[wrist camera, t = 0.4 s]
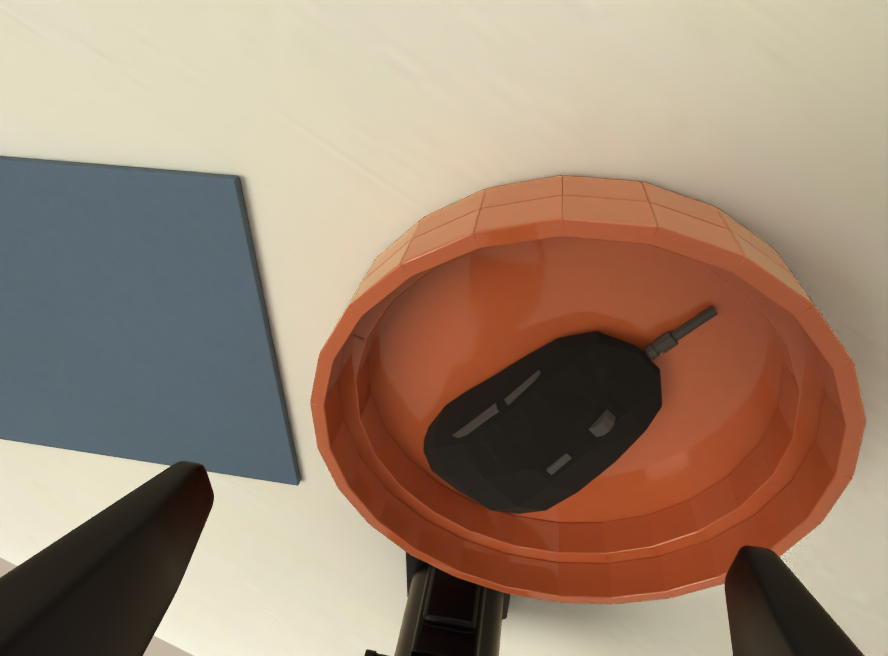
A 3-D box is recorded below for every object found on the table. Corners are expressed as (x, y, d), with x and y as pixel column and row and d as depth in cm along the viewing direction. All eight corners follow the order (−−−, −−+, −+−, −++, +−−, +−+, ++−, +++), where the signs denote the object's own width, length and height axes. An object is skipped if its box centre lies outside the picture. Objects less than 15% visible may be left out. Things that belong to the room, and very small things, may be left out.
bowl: (724, 559, 29) (745, 635, 26) (359, 501, 32) (336, 564, 29) (923, 198, 18) (1006, 256, 14) (320, 153, 20) (274, 193, 17)
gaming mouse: (759, 358, 21) (795, 431, 18) (490, 498, 29) (481, 567, 26) (663, 250, 20) (683, 311, 16) (402, 430, 27) (381, 495, 24)
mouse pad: (300, 480, 32) (298, 486, 31) (-19, 430, 34) (-25, 435, 34) (239, 175, 21) (234, 179, 21) (-214, 138, 24) (-224, 141, 24)
